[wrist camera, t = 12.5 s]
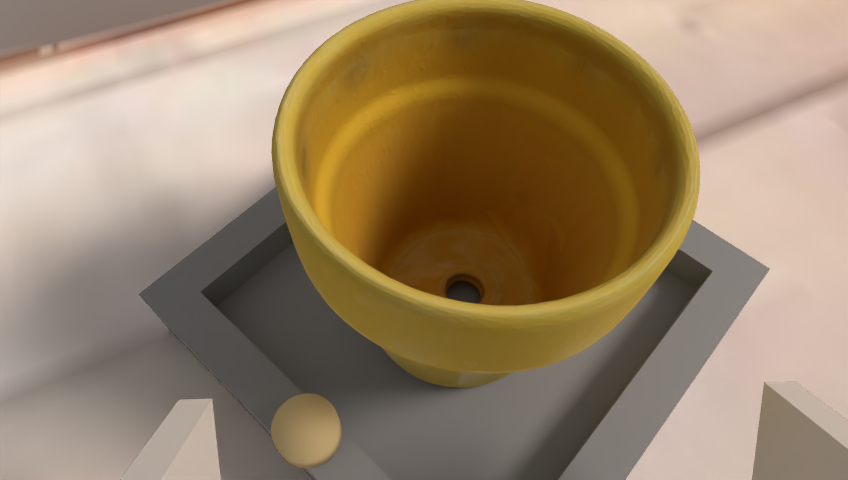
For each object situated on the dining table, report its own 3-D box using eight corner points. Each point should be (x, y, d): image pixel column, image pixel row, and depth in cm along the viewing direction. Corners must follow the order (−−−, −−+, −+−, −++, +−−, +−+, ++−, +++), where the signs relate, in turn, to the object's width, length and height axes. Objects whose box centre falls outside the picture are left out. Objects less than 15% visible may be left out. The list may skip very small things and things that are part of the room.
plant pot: (566, 183, 26) (639, -20, 18) (628, 429, 21) (775, 306, 12) (322, 197, 25) (277, -5, 17) (320, 454, 20) (253, 343, 12)
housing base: (441, 103, 30) (444, 39, 27) (735, 299, 25) (787, 250, 21) (163, 332, 24) (120, 286, 20) (479, 666, 18) (495, 679, 15)
